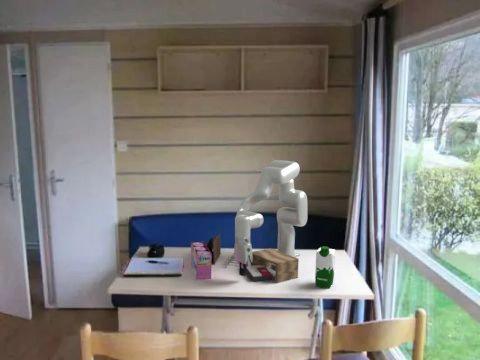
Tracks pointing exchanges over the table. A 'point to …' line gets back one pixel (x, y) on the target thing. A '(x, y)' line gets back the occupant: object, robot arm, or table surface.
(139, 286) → the table surface
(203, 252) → the gum box
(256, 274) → the calculator
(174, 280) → the table surface
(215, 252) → the letter holder
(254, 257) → the tan block
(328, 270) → the milk carton
